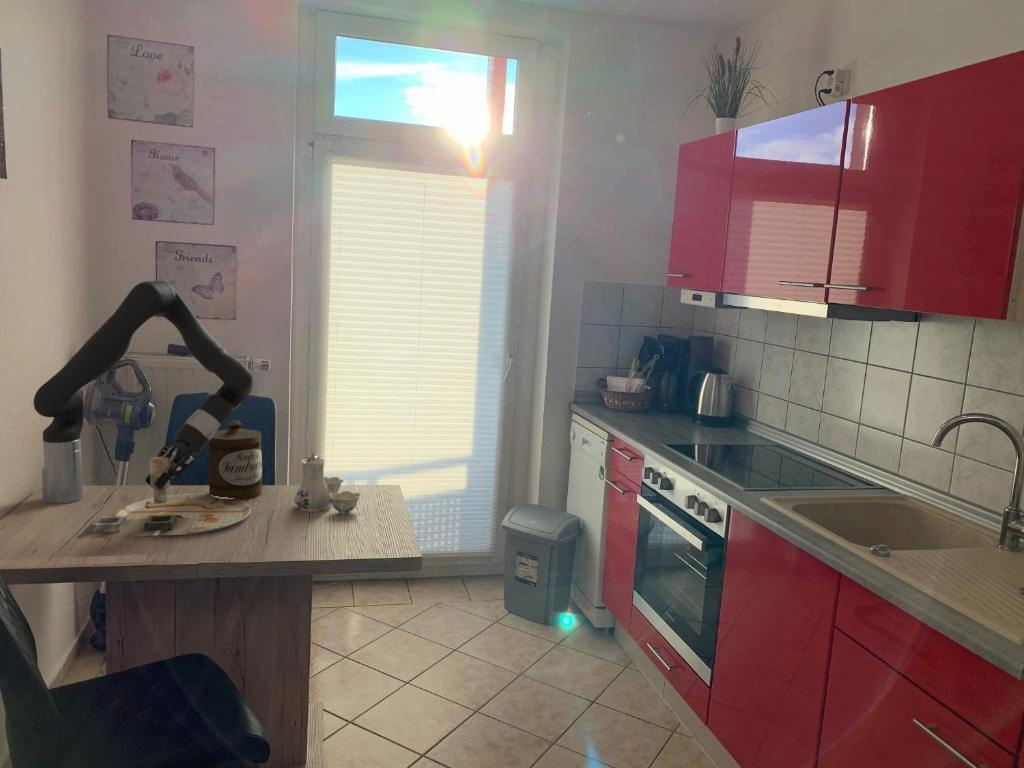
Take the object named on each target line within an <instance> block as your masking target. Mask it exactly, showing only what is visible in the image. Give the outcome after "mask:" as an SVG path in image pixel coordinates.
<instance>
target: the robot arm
mask: <svg viewBox="0 0 1024 768" xmlns="http://www.w3.org/2000/svg"><path fill="white" fill-rule="evenodd" d="M158 316H159V317H160V316H162V317H163V318H165V319H166V320H168V321H169V322H170V323H171V324H172V325H173V326H174V327H175V328H176V330H177V331H178V332H179V334H180V336H181V338H182V340H183V342H184V345H185V346H186V348H187V350H188V352H189V353H190V354H191V355H192V356H193V357H194V359H196V361H197V362H198V363H199V364H201V365H202V367H203V368H205V369H206V370H207V372H209V373H212V374H214V375H216V377H218V378H219V379H220V380H221V381H222V382H223V384H222V386H220V387H219V388H218V390H217V391H216V392H215V394H214V393H213V394H211V395H210V396H207V398H206V399H205V400H204V401H203V403H202V404H201V405H200V406H199V407H198V409H196V411H194V412H193V413H192V414H191V415H190V416H189V417H188V418H187V420H186V421H185V422H184V423H183V424H182V426H180V428H179V429H178V430H177V432H175V434H174V435H173V438H174V439H175V442H174V443H173V444H172V445H171V446H170V447H167V446H166V445H164V446H162V448H161V449H160V451H159V452H158V454H157V455H156V457H168V458H169V461H168V466H167V468H166V469H165V471H164V472H165V473H164V472H163V473H162V474H161V476H160V477H159V478H158V479H157V480H156V481H155V483H154V486H156V487H157V488H158V489H162V488H163V487H164V486H165V484H166V483H167V482H168V481H169V480H170V481H171V479H172V478H175V477H176V478H179V477H180V476H181V475H182V474H183V473H184V472H185V471H187V470H188V469H189V468H190V467H191V466H192V465H193V464H194V463H195V462H196V459H195V458H194V457H193V454H196V455H198V454H201V451H203V449H204V448H205V447H206V445H207V444H209V441H210V439H211V438H212V437H213V436H214V435H215V433H216V432H217V431H219V428H220V427H221V426H222V425H223V423H224V422H225V421H226V420H227V419H228V417H229V416H230V414H231V413H232V412H233V411H234V410H235V409H236V408H237V407H238V406H240V405H241V403H243V402H244V401H245V400H246V399H247V397H248V396H249V394H251V391H252V389H253V376H252V373H251V371H250V370H249V369H248V368H247V367H246V366H245V365H244V364H243V363H242V362H241V361H239V360H238V359H237V358H236V357H234V356H233V355H231V354H229V353H228V352H227V350H226V348H224V347H223V346H222V345H221V344H220V343H219V342H218V341H217V340H216V339H215V338H214V337H213V336H212V335H211V334H210V333H209V332H208V330H206V329H205V327H204V326H203V325H202V324H201V322H200V321H199V320H198V319H197V317H196V316H195V315H194V313H193V312H192V310H190V308H189V307H188V305H187V304H186V303H185V301H184V299H183V298H182V297H181V295H180V294H179V293H178V292H177V290H176V289H175V288H174V287H173V286H172V285H171V284H170V283H169V282H166V281H164V280H150V281H149V280H148V281H142V282H139V283H138V284H136V285H134V287H133V288H132V289H131V290H130V291H128V294H127V295H126V296H125V298H124V299H123V301H122V302H121V303H120V305H119V306H118V308H117V309H116V310H115V312H113V314H112V315H111V316H110V317H108V319H107V320H106V321H104V323H103V324H102V325H101V326H100V327H99V328H98V329H97V331H95V332H94V333H93V334H92V335H91V336H89V339H87V340H86V341H85V343H84V344H83V345H82V346H81V347H80V349H78V351H77V352H76V353H75V354H74V355H73V356H72V357H71V358H70V359H69V360H68V361H67V362H66V364H65V365H64V366H63V367H62V368H60V370H59V371H58V372H57V373H56V374H55V375H53V376H52V377H51V378H50V379H48V380H47V381H46V382H45V383H43V384H42V385H41V386H40V387H39V388H38V389H37V390H36V392H35V394H34V398H33V407H34V410H35V412H36V413H38V415H40V416H42V417H45V418H53V419H52V421H51V423H50V424H49V425H48V426H47V427H46V428H45V429H44V430H43V431H42V445H43V446H42V449H43V450H42V451H43V468H41V487H42V503H50V504H67V503H73V502H77V501H80V500H82V499H83V497H84V496H83V495H84V494H83V493H84V491H83V470H82V469H83V468H82V465H83V463H82V446H81V445H82V443H81V442H82V441H81V433H82V431H83V427H84V409H85V407H84V395H83V393H82V390H81V389H82V388H83V387H85V386H86V385H88V384H89V383H91V382H94V381H95V380H96V379H98V378H100V377H101V376H102V375H104V374H106V373H108V372H109V371H110V370H111V369H112V368H113V367H115V365H116V364H118V362H119V361H121V359H122V358H123V357H124V356H125V355H126V353H127V352H128V350H129V347H130V345H131V341H132V337H133V335H134V334H135V333H136V331H138V330H139V329H140V327H141V326H143V325H144V324H145V323H146V322H147V321H149V320H150V319H151V318H153V317H158ZM144 482H145V483H146V484H147V485H149V486H151V483H150V473H149V474H148V475H147V476H146V477H145V479H144Z"/></svg>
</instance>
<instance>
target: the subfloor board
mask: <svg viewBox="0 0 1024 768" xmlns="http://www.w3.org/2000/svg"><path fill="white" fill-rule="evenodd" d="M197 519H198V517H195V516H194V517H193V516H192V517H178V514H174V513H173V511H160V512H159V513H158V514H157V515H156V514H155V515H152V514H151V515H149V516H148V517H147V518H134V519H133V518H132V519H129V518H128V519H127V516H126V515H125V516H124V515H123V516H119V515H118V516H98V517H97V518H96V519H94V520H92V521H91V523H89V525H88V526H87V527H85V528H84V529H83V530H82V532H81V533H80V534H79V535H78V536H77V537H76V539H96V538H97V539H98V538H99V539H101V538H123V537H124V538H125V537H127V538H128V537H155V536H183V535H184V536H185V535H189V536H188V537H187V538H186V541H189V539H190V538H191V536H192V534H191V531H192V529H193V527H194V525H195V524H196V523H195V522H197Z"/></svg>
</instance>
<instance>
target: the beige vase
mask: <svg viewBox="0 0 1024 768" xmlns="http://www.w3.org/2000/svg"><path fill="white" fill-rule="evenodd" d="M168 461H169V458H168V457H157V456H156V457H151V458H149V474H150V483H151V485H150V488H151V489H153V502H154V504H165V503H167V502H168V488H169V487H170V486H171V483H170V482H171V479H170V480H169V481H168V482H167V483H166V484H165V486H164V487H163V488H162V489H158V488H157V487H156V486H154V483H155V481H156V480H157V479H158V478H159V477H160V476H161V474H162V473H163V472H164V471H165V469H166V468H167V466H168ZM164 473H165V472H164Z"/></svg>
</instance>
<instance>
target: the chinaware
mask: <svg viewBox="0 0 1024 768" xmlns="http://www.w3.org/2000/svg"><path fill="white" fill-rule="evenodd" d="M325 462H326V460H325V459H323V458H320V456H318V455H317V453H315V451H312V452H311V453H310V455H309V456H308V457H307V458H306V459H302V460H301V463H302V476H303V477H302V481H301V484H300V486H299V488H298V489H297V491H296V492H295V496H294V498H293V502H294V503H295V504H296V505H297V506H298V507H297V509H298V510H299V511H302V512H309V513H311V512H322V511H326V510H328V509H329V505H330V504H332V507H333V508H334V509H335V510H336V511H337V512H338V513H337V514H339V516H348V515H350V514H352V513H351V512H352V511H353V510H355V508H356V507H357V505H358V501H359V499H360V497H361V494H360V492H355V493H353V492H352V491H349V490H343V491H341V492H339V490H341V489H340V488H341V485H342V483H344V479H341V478H340V477H338V476H332V477H326V476H324V466H325Z"/></svg>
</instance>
